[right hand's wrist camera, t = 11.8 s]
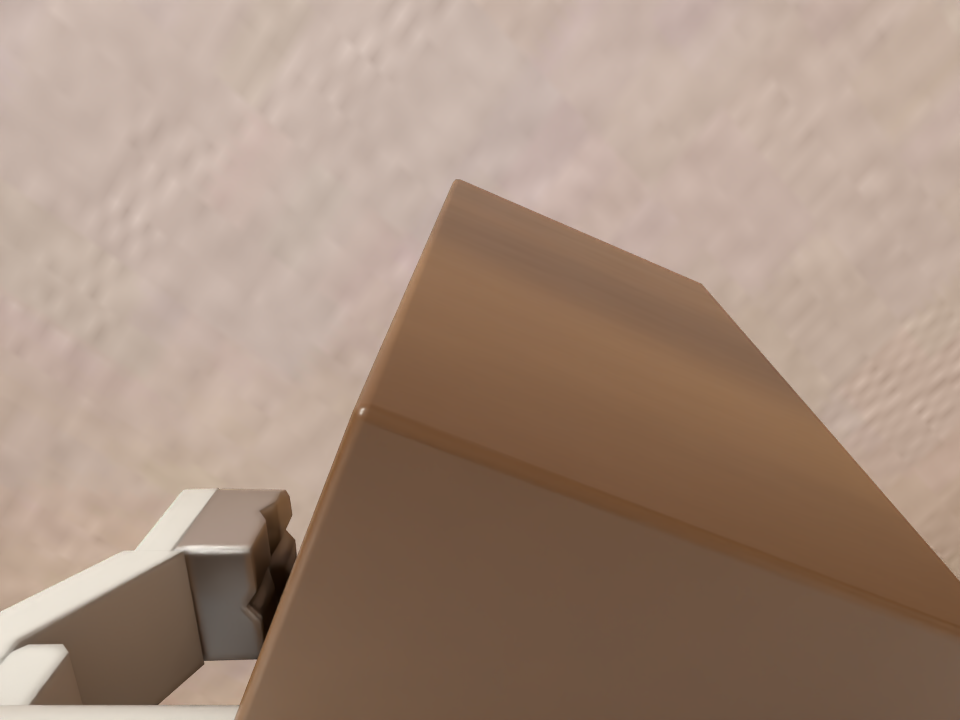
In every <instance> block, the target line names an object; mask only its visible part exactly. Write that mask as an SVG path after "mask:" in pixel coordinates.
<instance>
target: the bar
mask: <svg viewBox="0 0 960 720" xmlns="http://www.w3.org/2000/svg"><path fill="white" fill-rule="evenodd" d="M234 720H960V581H959V580H958V579H957V578H956V576H955V575H954V574H953V573H952V572H951V571H950V570H949V568H948V567H947V566H946V565H945V564H944V563H943V561H942V560H941V559H940V558H939V557H938V556H937V555H936V553H935V552H934V551H933V550H932V549H931V548H930V546H929V545H928V544H927V543H926V542H925V541H924V540H923V538H922V537H921V536H920V535H919V534H918V533H917V532H916V530H915V529H914V528H913V527H912V526H911V525H910V523H909V522H908V521H907V520H906V519H905V518H904V517H903V515H902V514H901V513H900V512H899V511H898V510H897V508H896V507H895V506H894V505H893V504H892V503H891V502H890V500H889V499H888V498H887V497H886V496H885V495H884V493H883V492H882V491H881V490H880V489H879V488H878V487H877V485H876V484H875V483H874V482H873V481H872V480H871V479H870V477H869V476H868V475H867V474H866V473H865V472H864V470H863V469H862V468H861V467H860V466H859V465H858V464H857V462H856V461H855V460H854V459H853V458H852V457H851V455H850V454H849V453H848V452H847V451H846V450H845V449H844V447H843V446H842V445H841V444H840V443H839V442H838V440H837V439H836V438H835V437H834V436H833V435H832V434H831V432H830V431H829V430H828V429H827V428H826V427H825V425H824V424H823V423H822V422H821V421H820V420H819V419H818V417H817V416H816V415H815V414H814V413H813V412H812V411H811V409H810V408H809V407H808V406H807V405H806V404H805V402H804V401H803V400H802V399H801V398H800V397H799V396H798V394H797V393H796V392H795V391H794V390H793V389H792V387H791V386H790V385H789V384H788V383H787V382H786V381H785V379H784V378H783V377H782V376H781V375H780V374H779V372H778V371H777V370H776V369H775V368H774V367H773V366H772V364H771V363H770V362H769V361H768V360H767V359H766V358H765V356H764V355H763V354H762V353H761V352H760V351H759V349H758V348H757V347H756V346H755V345H754V344H753V343H752V341H751V340H750V339H749V338H748V337H747V336H746V334H745V333H744V332H743V331H742V330H741V329H740V328H739V326H738V325H737V324H736V323H735V322H734V321H733V319H732V318H731V317H730V316H729V315H728V314H727V313H726V311H725V310H724V309H723V308H722V307H721V306H720V304H719V303H718V302H717V301H716V300H715V299H714V298H713V296H712V295H711V294H710V293H709V292H708V291H707V290H706V288H705V287H704V286H703V285H702V284H701V283H698V282H696V281H694V280H691V279H689V278H687V277H684V276H682V275H680V274H677V273H675V272H673V271H670V270H668V269H666V268H664V267H661V266H659V265H657V264H654V263H652V262H650V261H647V260H645V259H643V258H640V257H638V256H636V255H633V254H631V253H629V252H627V251H624V250H622V249H620V248H617V247H615V246H613V245H610V244H608V243H606V242H603V241H601V240H599V239H596V238H594V237H592V236H590V235H587V234H585V233H583V232H580V231H578V230H576V229H573V228H571V227H569V226H566V225H564V224H562V223H559V222H557V221H555V220H553V219H550V218H548V217H546V216H543V215H541V214H539V213H536V212H534V211H532V210H529V209H527V208H525V207H522V206H520V205H518V204H516V203H513V202H511V201H509V200H506V199H504V198H502V197H499V196H497V195H495V194H492V193H490V192H488V191H485V190H483V189H481V188H479V187H476V186H474V185H472V184H469V183H467V182H465V181H462V180H457V179H456V180H455V181H454V182H453V184H452V186H451V188H450V190H449V193H448V195H447V197H446V200H445V202H444V204H443V206H442V209H441V211H440V213H439V216H438V218H437V220H436V222H435V225H434V227H433V229H432V232H431V234H430V236H429V238H428V241H427V243H426V245H425V248H424V250H423V252H422V254H421V257H420V259H419V261H418V264H417V266H416V268H415V270H414V273H413V275H412V277H411V280H410V282H409V284H408V286H407V289H406V291H405V293H404V296H403V298H402V300H401V302H400V305H399V307H398V309H397V312H396V314H395V316H394V318H393V321H392V323H391V325H390V328H389V330H388V332H387V334H386V337H385V339H384V341H383V344H382V346H381V348H380V350H379V353H378V355H377V357H376V360H375V362H374V364H373V366H372V369H371V371H370V373H369V376H368V378H367V380H366V382H365V385H364V387H363V389H362V392H361V394H360V396H359V398H358V401H357V403H356V405H355V408H354V410H353V412H352V415H351V418H350V420H349V423H348V425H347V428H346V431H345V433H344V436H343V438H342V441H341V444H340V446H339V449H338V451H337V454H336V457H335V459H334V462H333V464H332V467H331V470H330V472H329V475H328V477H327V480H326V483H325V485H324V488H323V490H322V493H321V495H320V498H319V501H318V503H317V506H316V508H315V511H314V514H313V516H312V519H311V521H310V524H309V527H308V529H307V532H306V534H305V537H304V540H303V542H302V545H301V547H300V550H299V553H298V555H297V558H296V560H295V563H294V566H293V568H292V571H291V573H290V576H289V578H288V581H287V584H286V586H285V589H284V591H283V594H282V597H281V599H280V602H279V604H278V607H277V610H276V612H275V615H274V617H273V620H272V623H271V625H270V628H269V630H268V633H267V636H266V638H265V641H264V643H263V646H262V649H261V651H260V654H259V656H258V659H257V662H256V664H255V667H254V669H253V672H252V674H251V677H250V680H249V682H248V685H247V687H246V690H245V693H244V695H243V698H242V700H241V703H240V706H239V708H238V711H237V713H236V716H235V719H234Z"/></svg>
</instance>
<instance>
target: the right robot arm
mask: <svg viewBox="0 0 960 720" xmlns="http://www.w3.org/2000/svg"><path fill="white" fill-rule="evenodd" d="M291 517H292V510H291V503H290V496H289V495H288V493H287V492H286V490H265V489H218V488H199V489H186V490H183V491H182V492H181V493H180V494H179V495H178V497H177V498H176V499H175V500H174V502H173V503H172V504H171V505H170V507H169V508H168V509H167V510H166V512H165V513H164V514H163V515H162V517H161V518H160V519H159V520H158V522H157V523H156V524H155V525H154V527H153V528H152V529H151V530H150V532H149V533H148V534H147V535H146V537H145V538H144V539H143V540H142V542H141V543H140V544H139V545H138V547H137V548H136V549H135V550H134V551H122V552H120V553H118V554H116V555H114V556H112V557H110V558H108V559H106V560H104V561H102V562H100V563H98V564H96V565H94V566H92V567H90V568H88V569H86V570H84V571H81V572H79V573H77V574H75V575H73V576H71V577H69V578H67V579H65V580H63V581H61V582H59V583H57V584H55V585H53V586H51V587H49V588H47V589H45V590H43V591H41V592H39V593H37V594H35V595H33V596H31V597H29V598H27V599H25V600H23V601H21V602H19V603H17V604H15V605H13V606H11V607H9V608H7V609H5V610H3V611H1V612H0V720H234V719H235V716H236V713H237V711H238V708H239V706H240V705H158V704H159V703H160V702H162V701H163V700H164V699H165V698H166V697H167V696H168V695H170V694H171V693H172V692H173V691H174V690H175V689H176V688H178V687H179V686H180V685H181V684H182V683H183V682H184V681H186V680H187V679H188V678H189V677H190V676H191V675H192V674H194V673H195V672H196V671H197V670H198V669H199V668H200V667H201V666H203V665H204V661H214V660H249V659H258V656H259V654H260V651H261V649H262V646H263V643H264V641H265V638H266V636H267V633H268V630H269V628H270V625H271V623H272V620H273V617H274V615H275V612H276V610H277V607H278V604H279V602H280V599H281V597H282V594H283V591H284V589H285V586H286V584H287V581H288V578H289V576H290V573H291V571H292V568H293V566H294V563H295V560H296V558H297V553H296V543H295V539H294V538H293V537H292V536H291V535H290V534H289V533H288V532H287V531H286V528H287V526H288V523H289V521H290V519H291Z"/></svg>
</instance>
